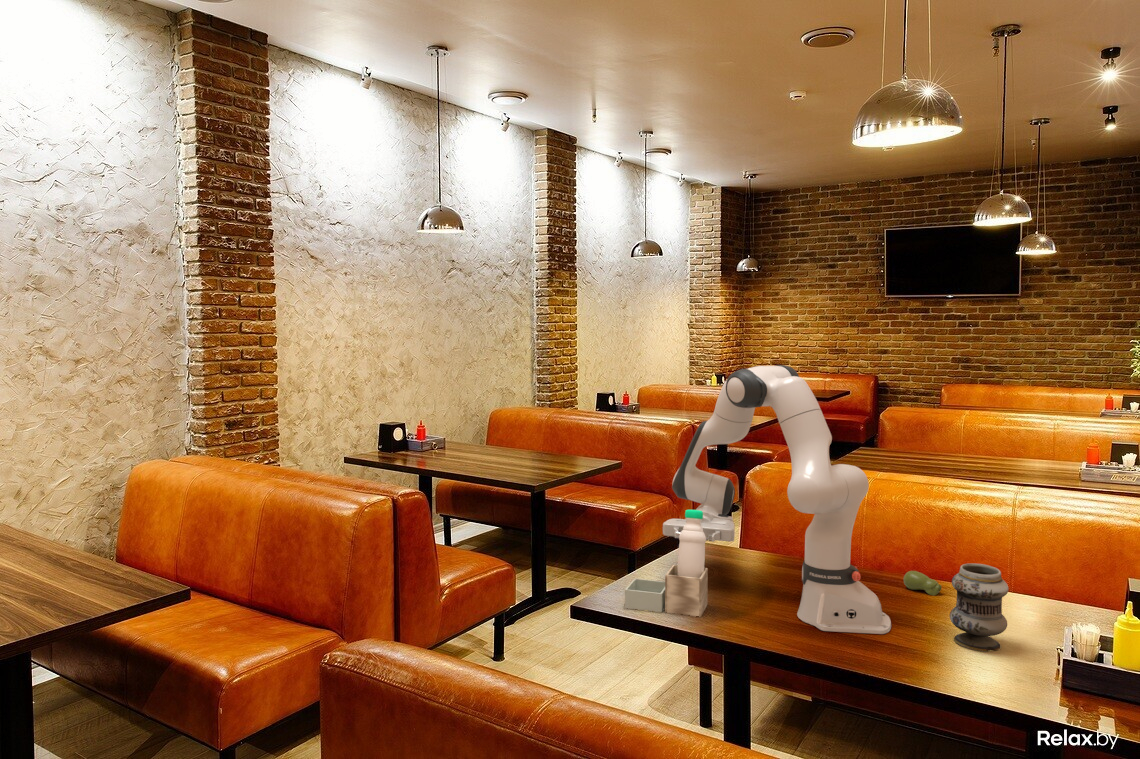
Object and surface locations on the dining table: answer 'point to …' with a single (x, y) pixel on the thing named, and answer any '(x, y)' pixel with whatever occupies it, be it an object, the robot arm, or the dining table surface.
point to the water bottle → (692, 546)
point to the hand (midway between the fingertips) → (694, 537)
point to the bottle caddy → (645, 595)
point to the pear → (921, 583)
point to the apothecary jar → (979, 606)
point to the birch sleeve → (685, 593)
